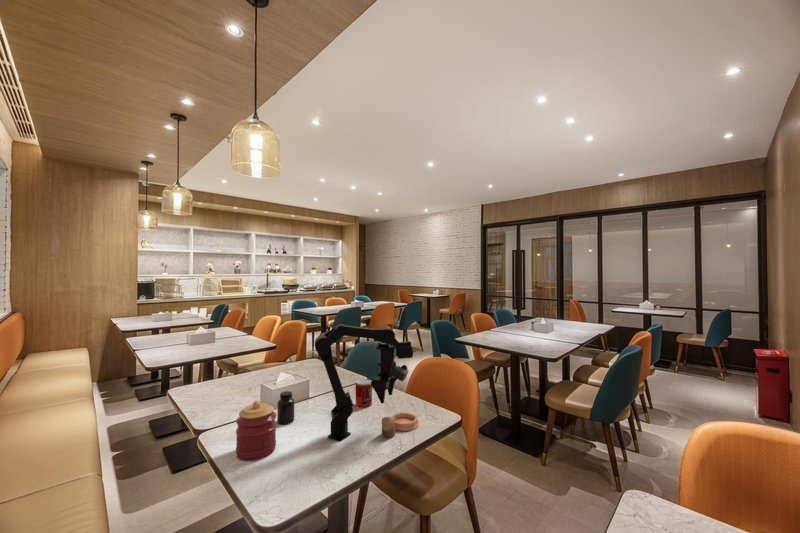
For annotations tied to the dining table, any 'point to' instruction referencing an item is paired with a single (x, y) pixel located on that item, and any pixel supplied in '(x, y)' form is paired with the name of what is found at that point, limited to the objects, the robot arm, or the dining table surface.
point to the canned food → (363, 393)
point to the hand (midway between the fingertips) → (386, 399)
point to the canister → (256, 432)
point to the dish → (405, 421)
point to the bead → (388, 427)
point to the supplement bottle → (285, 408)
